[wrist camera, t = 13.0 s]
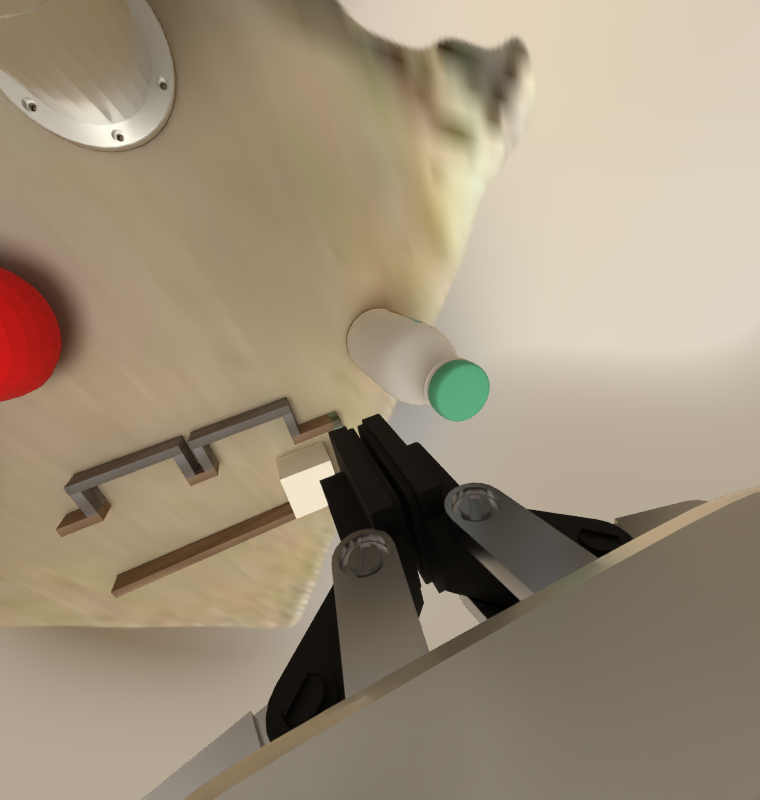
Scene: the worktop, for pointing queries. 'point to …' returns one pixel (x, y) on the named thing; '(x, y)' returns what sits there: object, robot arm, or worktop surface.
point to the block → (305, 478)
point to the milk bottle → (416, 364)
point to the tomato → (25, 337)
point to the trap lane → (98, 507)
